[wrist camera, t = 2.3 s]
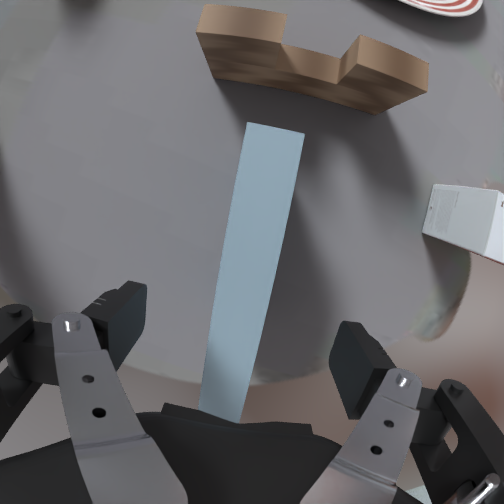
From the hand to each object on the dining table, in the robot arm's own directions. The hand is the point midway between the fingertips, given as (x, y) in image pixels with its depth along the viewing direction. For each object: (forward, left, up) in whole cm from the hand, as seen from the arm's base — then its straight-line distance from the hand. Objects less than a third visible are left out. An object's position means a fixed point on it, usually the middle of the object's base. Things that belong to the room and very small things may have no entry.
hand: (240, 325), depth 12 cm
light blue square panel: (0, 0, -17) cm, 17 cm away
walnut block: (+2, +16, -17) cm, 24 cm away
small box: (+22, +7, -18) cm, 29 cm away
